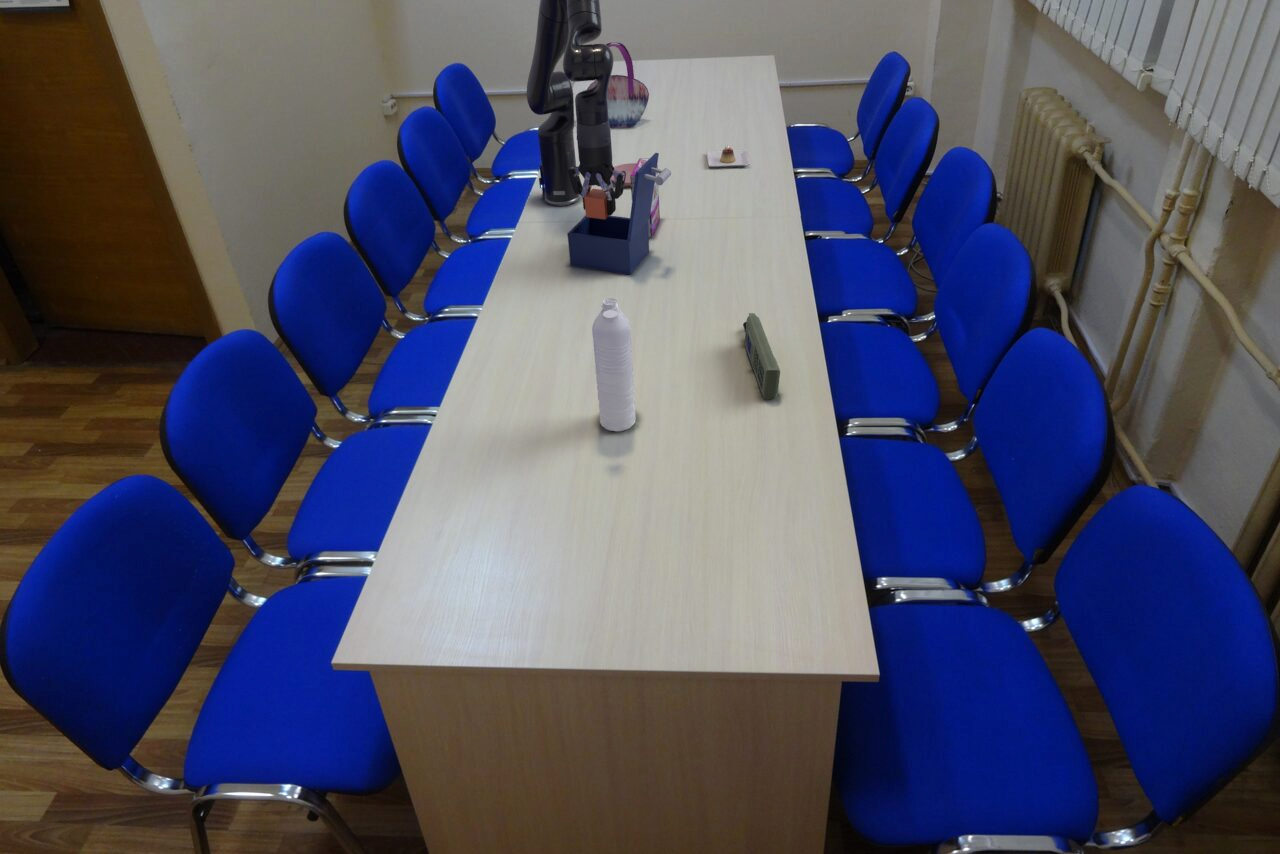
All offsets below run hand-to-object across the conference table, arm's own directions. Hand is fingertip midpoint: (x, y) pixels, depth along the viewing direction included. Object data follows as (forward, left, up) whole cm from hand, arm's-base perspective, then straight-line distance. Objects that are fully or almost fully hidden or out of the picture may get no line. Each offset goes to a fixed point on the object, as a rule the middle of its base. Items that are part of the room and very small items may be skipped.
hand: (599, 212), depth 200 cm
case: (+2, +1, -12) cm, 12 cm away
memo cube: (0, 0, 0) cm, 0 cm away
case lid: (+10, +4, +5) cm, 12 cm away
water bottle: (+48, -46, -12) cm, 68 cm away
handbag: (-63, +74, -12) cm, 98 cm away
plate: (-27, +41, -12) cm, 50 cm away
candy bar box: (-2, +19, -12) cm, 22 cm away
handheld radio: (+56, -14, -12) cm, 59 cm away
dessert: (-13, +68, -12) cm, 70 cm away
